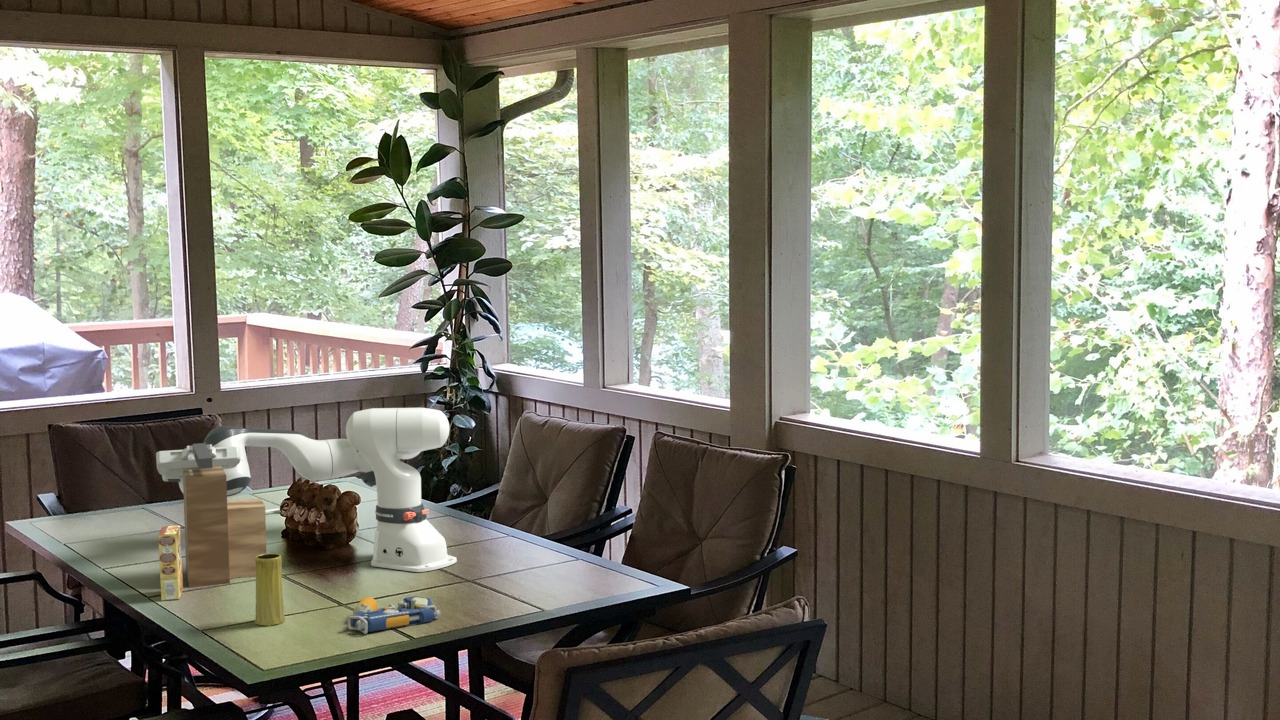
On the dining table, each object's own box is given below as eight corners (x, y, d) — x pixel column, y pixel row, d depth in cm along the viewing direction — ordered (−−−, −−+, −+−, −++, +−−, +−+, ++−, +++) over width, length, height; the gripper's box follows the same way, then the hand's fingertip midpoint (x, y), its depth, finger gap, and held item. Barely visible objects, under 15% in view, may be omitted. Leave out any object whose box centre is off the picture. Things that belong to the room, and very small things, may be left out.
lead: (192, 453, 306) (192, 443, 306) (205, 452, 308) (205, 443, 307) (198, 469, 284) (198, 458, 284) (212, 468, 286) (212, 457, 285)
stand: (186, 572, 299) (182, 467, 296) (262, 565, 306) (259, 461, 303) (189, 587, 286) (185, 476, 283) (269, 578, 293) (265, 471, 291)
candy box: (180, 599, 275) (177, 533, 274) (160, 601, 274) (157, 534, 273) (183, 589, 284) (181, 524, 283) (164, 590, 283) (161, 526, 281)
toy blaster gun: (329, 620, 260) (357, 639, 248) (329, 600, 260) (357, 619, 248) (418, 606, 272) (449, 623, 260) (419, 587, 272) (449, 604, 260)
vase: (288, 617, 262) (286, 552, 260) (280, 626, 256) (278, 559, 254) (259, 617, 261) (257, 552, 260) (251, 626, 255) (249, 559, 254)
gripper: (240, 475, 319) (244, 456, 307) (156, 481, 311) (157, 462, 299) (238, 453, 321) (242, 433, 310) (155, 458, 313) (155, 438, 301)
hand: (199, 447), depth 304 cm, fingers closed on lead, 3 cm apart
